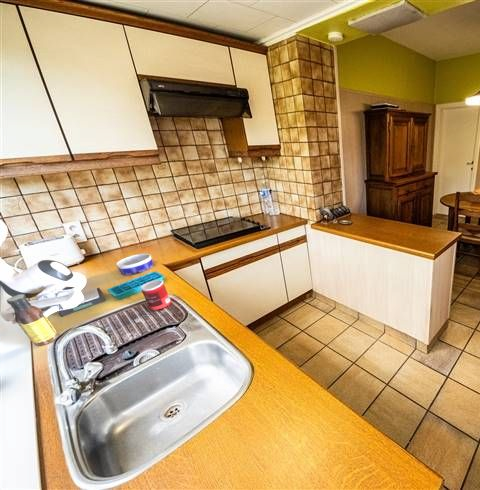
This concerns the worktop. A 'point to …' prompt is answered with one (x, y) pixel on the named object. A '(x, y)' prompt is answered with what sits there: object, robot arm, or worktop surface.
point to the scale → (86, 301)
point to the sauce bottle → (32, 321)
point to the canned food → (156, 295)
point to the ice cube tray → (134, 285)
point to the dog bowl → (135, 264)
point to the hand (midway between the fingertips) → (29, 318)
